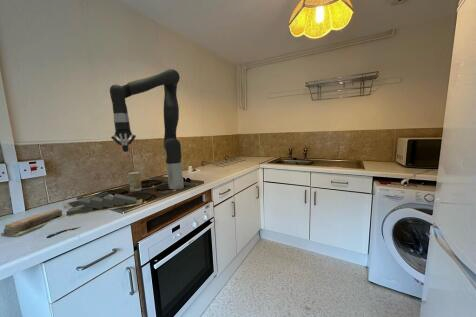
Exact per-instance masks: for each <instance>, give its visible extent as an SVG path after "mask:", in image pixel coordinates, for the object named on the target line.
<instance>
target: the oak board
mask: <svg viewBox="0 0 476 317" xmlns="http://www.w3.org/2000/svg"><path fill="white" fill-rule="evenodd" d="M142 203H143V199H141V198H140V199H136V201H135V204H130V203H126V204H125V206H122V205H117V204H115V205H114V207H113V208H111V207H106V206H104V208H103V209H97V208H95V209H94V210H93V211H91V212H85V213H79V214H74V215H68V217H74V216H80V215H85V214H90V213H91V214H92V213H96V212H103V211H108V210H114V209H119V208H120V209H121V208H127V207H131V206H137V205H142Z"/></svg>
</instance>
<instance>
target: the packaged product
mask: <svg viewBox="0 0 476 317" xmlns="http://www.w3.org/2000/svg"><path fill="white" fill-rule="evenodd" d="M64 217H67V213H66V214H63V211H62V209H59V208H54V209H51V210H47V211H44V212H41V213H38V214H35V215H32V216H28V217H26V218H23V219H20V220H16V221H13V222H10V223H8V224H5V225H4V229H3V232H1V233H0V235H1V236H4V235H5V236H7V237H13V238H19V237H22V236H24V235H26V234H29V233H32V232H35V231H37V230H40V229H42V228H44V227H45V226H46V225H48V224H49V223H51V222H54V221H57V220H59V219H62V218H64Z"/></svg>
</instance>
